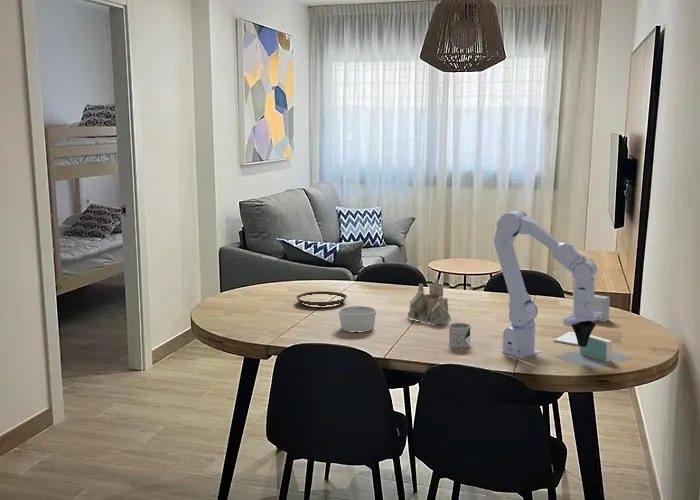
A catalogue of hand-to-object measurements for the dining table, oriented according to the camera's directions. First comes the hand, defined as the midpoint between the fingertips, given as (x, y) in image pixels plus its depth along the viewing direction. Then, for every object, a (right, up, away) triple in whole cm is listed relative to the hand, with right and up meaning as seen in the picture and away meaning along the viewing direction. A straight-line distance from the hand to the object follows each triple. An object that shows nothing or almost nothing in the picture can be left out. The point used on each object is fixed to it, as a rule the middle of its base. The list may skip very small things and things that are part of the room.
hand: (582, 345), depth 202 cm
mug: (-33, -2, +20) cm, 39 cm away
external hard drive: (+4, -2, +22) cm, 23 cm away
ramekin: (-66, 0, +40) cm, 77 cm away
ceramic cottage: (-40, +2, +51) cm, 65 cm away
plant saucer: (-80, +6, +79) cm, 113 cm away
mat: (+4, -4, +3) cm, 7 cm away
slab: (+5, -4, +4) cm, 8 cm away
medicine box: (+21, +3, +47) cm, 51 cm away
